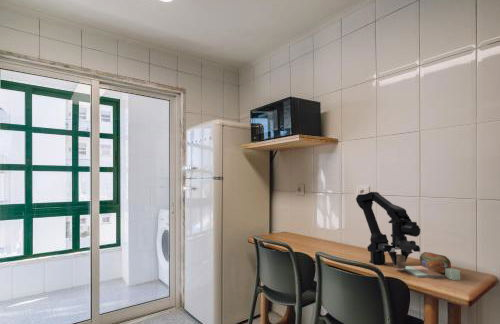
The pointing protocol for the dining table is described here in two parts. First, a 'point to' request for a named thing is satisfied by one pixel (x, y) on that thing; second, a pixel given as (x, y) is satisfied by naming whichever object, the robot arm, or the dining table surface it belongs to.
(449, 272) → the sage block
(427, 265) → the tin
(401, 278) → the dining table surface
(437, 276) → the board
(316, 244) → the dining table surface
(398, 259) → the block
